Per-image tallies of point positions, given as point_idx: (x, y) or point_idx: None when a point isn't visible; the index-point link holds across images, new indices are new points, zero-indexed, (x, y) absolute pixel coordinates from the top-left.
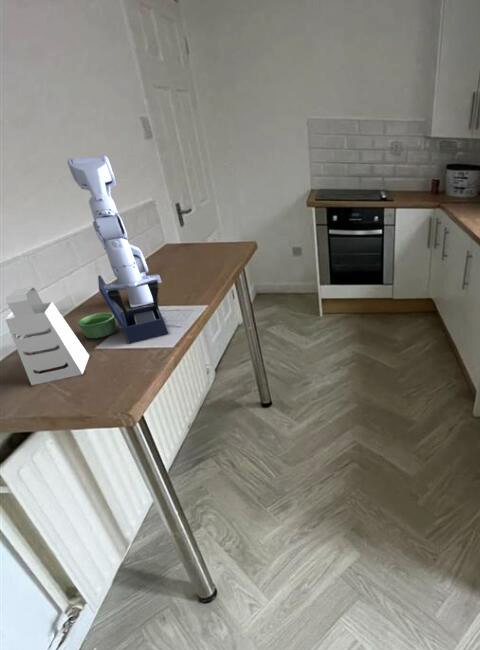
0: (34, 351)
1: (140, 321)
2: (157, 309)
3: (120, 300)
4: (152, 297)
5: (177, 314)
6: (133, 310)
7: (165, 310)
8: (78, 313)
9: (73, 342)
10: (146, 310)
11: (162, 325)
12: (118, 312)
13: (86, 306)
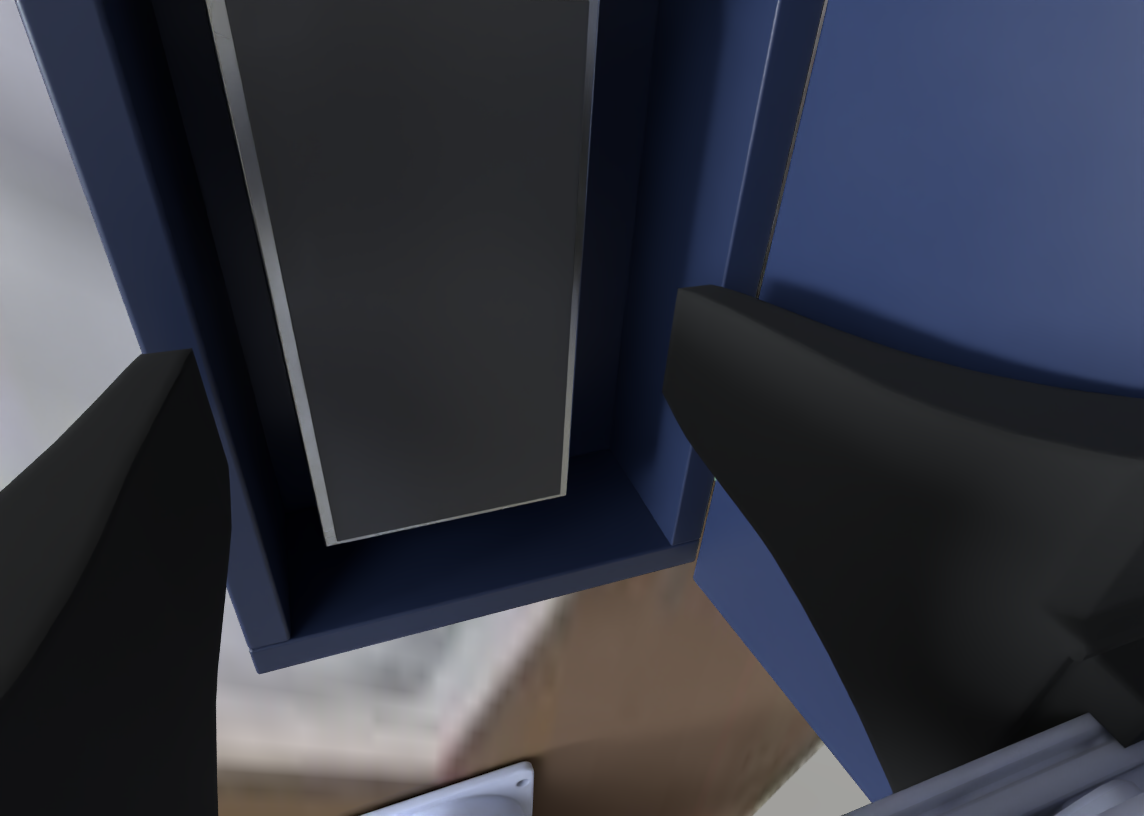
0: None
1: (518, 161)
2: (161, 354)
3: (975, 410)
4: (160, 592)
5: None
6: (562, 568)
7: (237, 684)
8: (793, 732)
9: None
10: (410, 574)
11: None
12: (858, 314)
13: (736, 798)
